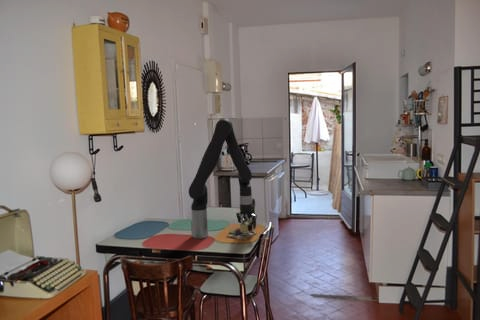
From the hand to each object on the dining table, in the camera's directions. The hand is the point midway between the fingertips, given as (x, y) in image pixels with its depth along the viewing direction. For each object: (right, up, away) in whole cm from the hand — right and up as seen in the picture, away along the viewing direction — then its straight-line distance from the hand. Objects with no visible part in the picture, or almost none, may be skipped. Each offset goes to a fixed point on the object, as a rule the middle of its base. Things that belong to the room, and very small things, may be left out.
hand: (246, 230), depth 240 cm
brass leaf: (0, -1, 0) cm, 1 cm away
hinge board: (-3, -4, +3) cm, 5 cm away
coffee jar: (+2, -1, +21) cm, 21 cm away
